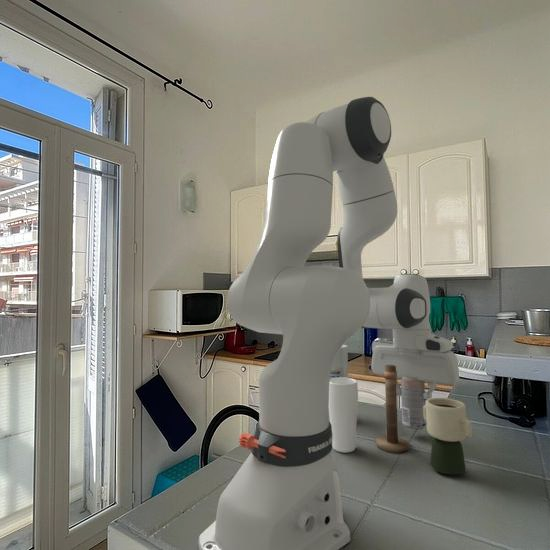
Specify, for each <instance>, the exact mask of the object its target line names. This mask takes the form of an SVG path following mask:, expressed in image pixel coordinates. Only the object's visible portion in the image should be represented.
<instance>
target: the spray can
mask: <svg viewBox="0 0 550 550" xmlns="http://www.w3.org/2000/svg"><path fill="white" fill-rule="evenodd" d="M348 350H349V347H348V345H347V344H346V345H345V344H343V346H342V347H341V349H340V350H339V352H338V354H337V356H336V358H335V360H334V363H333V366H332V369H331V374H330V379H331V378H336V377H345V378H349V365H348V364H349V363H348V362H349V361H348V360H349V359H348V358H349V357H348V356H349V355H348V353H349V352H348ZM329 421H330V417H329Z"/></svg>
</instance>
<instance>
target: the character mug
mask: <svg viewBox="0 0 550 550" xmlns="http://www.w3.org/2000/svg"><path fill="white" fill-rule="evenodd" d="M466 409H467V407H466V404H465V403H464V402H463V401H460V400H457V399H453V398H446V397H432V398H430V399H427V401H426V400H425V405H424V407H423V415H424V419H425V420H426V430H427V433H428V435H429V436H430V437H432V443H431V452H430V466H431V468H432V469H433V470H435V471H437V472H439V473H442V474H447V475H458V474H463V473H464V474H465V473H467V468H466V461H465V456H464V455H465V454H464V449H463V445H462V442H461V441H463V440H465V439H466V438H468V439H471V438H472V436H473V425H472V424H473V423H472V421H471V419H468V417H467V416H468V415H467V410H466Z"/></svg>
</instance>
